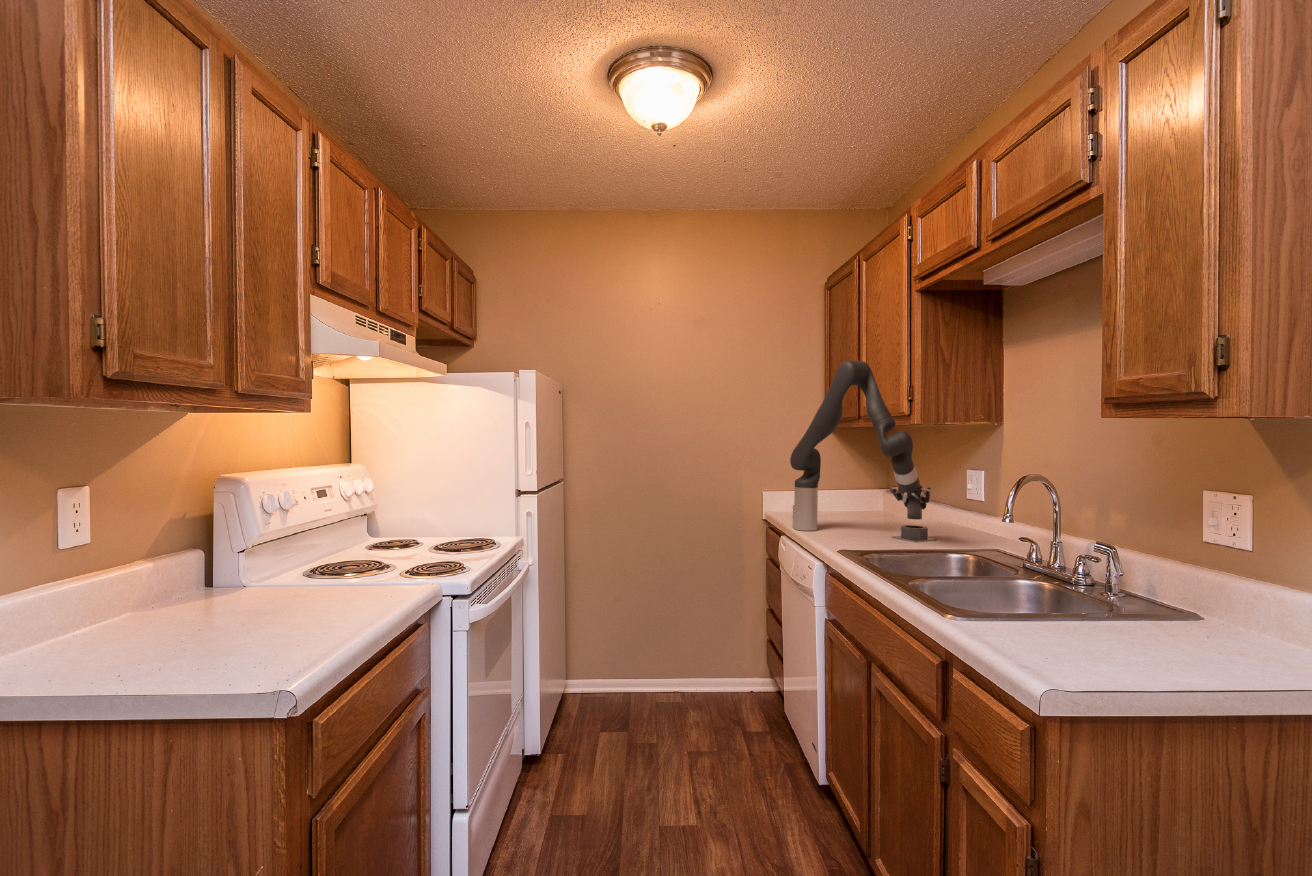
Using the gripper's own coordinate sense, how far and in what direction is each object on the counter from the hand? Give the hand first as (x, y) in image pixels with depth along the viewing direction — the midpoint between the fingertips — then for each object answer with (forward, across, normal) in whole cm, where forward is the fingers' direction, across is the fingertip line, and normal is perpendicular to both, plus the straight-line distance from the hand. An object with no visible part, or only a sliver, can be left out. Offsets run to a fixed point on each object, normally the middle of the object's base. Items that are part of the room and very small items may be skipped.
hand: (916, 506), depth 234 cm
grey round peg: (+2, 0, +4) cm, 5 cm away
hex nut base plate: (+7, 0, +10) cm, 12 cm away
